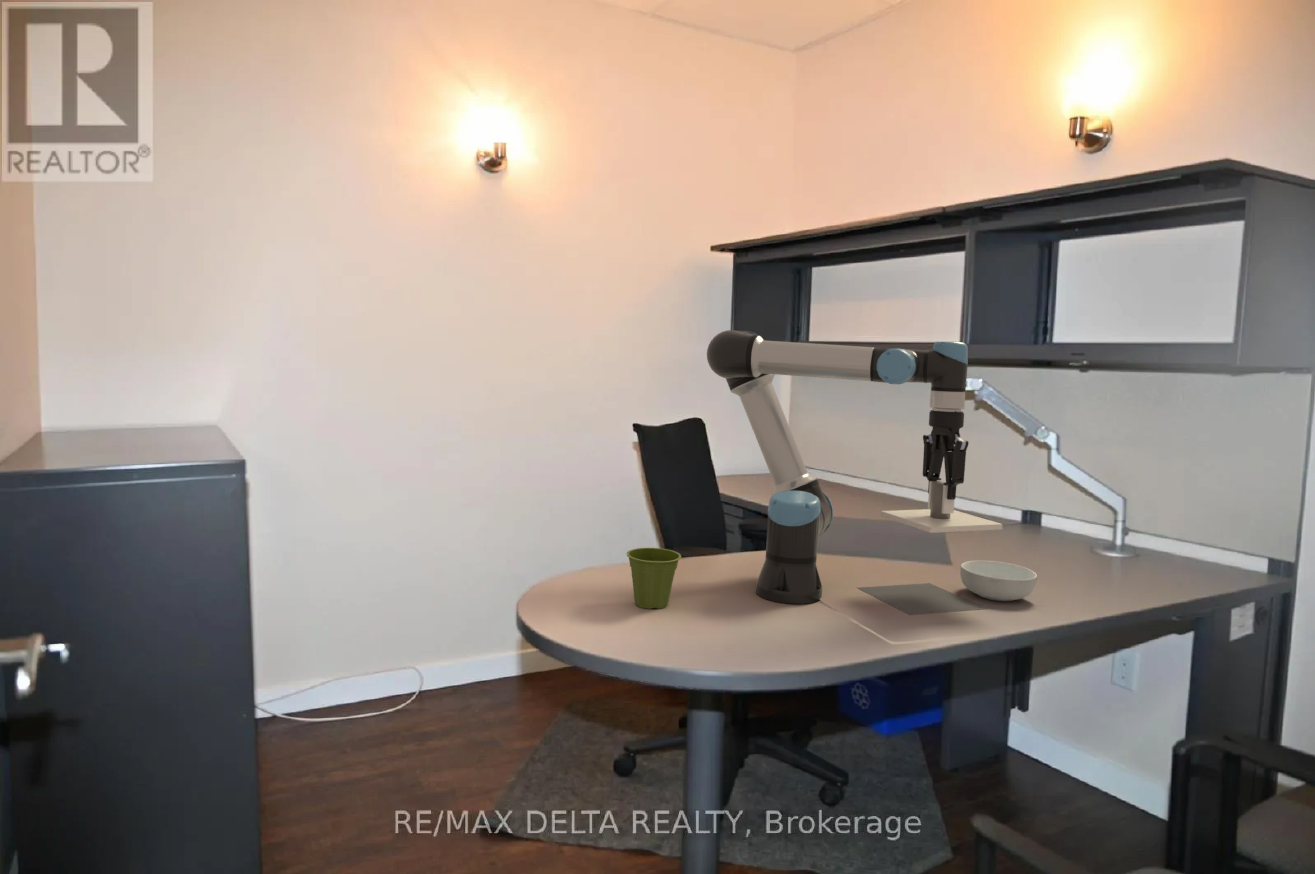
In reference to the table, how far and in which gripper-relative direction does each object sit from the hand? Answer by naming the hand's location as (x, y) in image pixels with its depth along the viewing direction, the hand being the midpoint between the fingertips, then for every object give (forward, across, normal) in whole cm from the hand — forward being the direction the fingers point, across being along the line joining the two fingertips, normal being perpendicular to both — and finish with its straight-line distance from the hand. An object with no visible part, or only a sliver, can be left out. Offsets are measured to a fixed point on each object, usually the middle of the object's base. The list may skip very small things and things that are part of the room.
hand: (940, 510), depth 198 cm
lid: (+3, 0, 0) cm, 3 cm away
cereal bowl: (+22, -1, -17) cm, 27 cm away
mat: (+21, +1, +3) cm, 21 cm away
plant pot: (+20, +9, +67) cm, 70 cm away
